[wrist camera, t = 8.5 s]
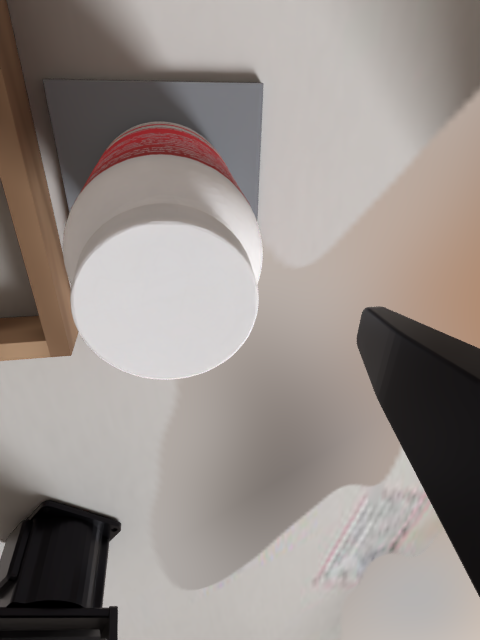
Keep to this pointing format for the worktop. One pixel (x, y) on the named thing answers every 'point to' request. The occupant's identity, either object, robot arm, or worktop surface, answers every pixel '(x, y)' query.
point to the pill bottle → (162, 255)
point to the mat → (155, 106)
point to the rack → (30, 219)
